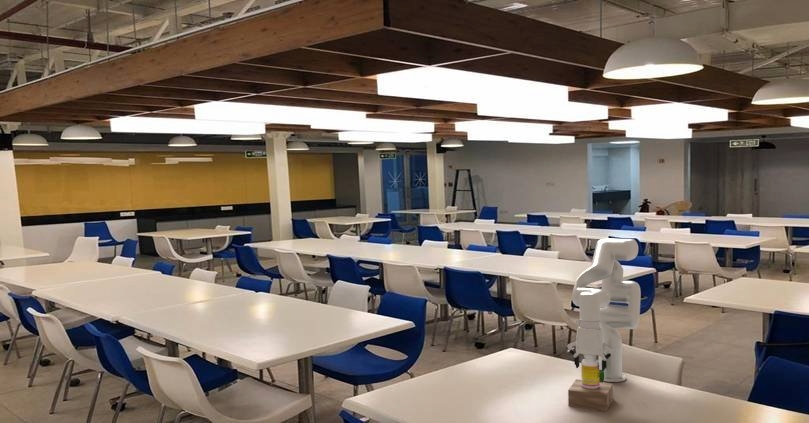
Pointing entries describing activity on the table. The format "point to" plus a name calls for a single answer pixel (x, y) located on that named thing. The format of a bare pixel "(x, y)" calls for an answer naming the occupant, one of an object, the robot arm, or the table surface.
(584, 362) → the supplement bottle
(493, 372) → the table surface
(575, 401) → the walnut block
